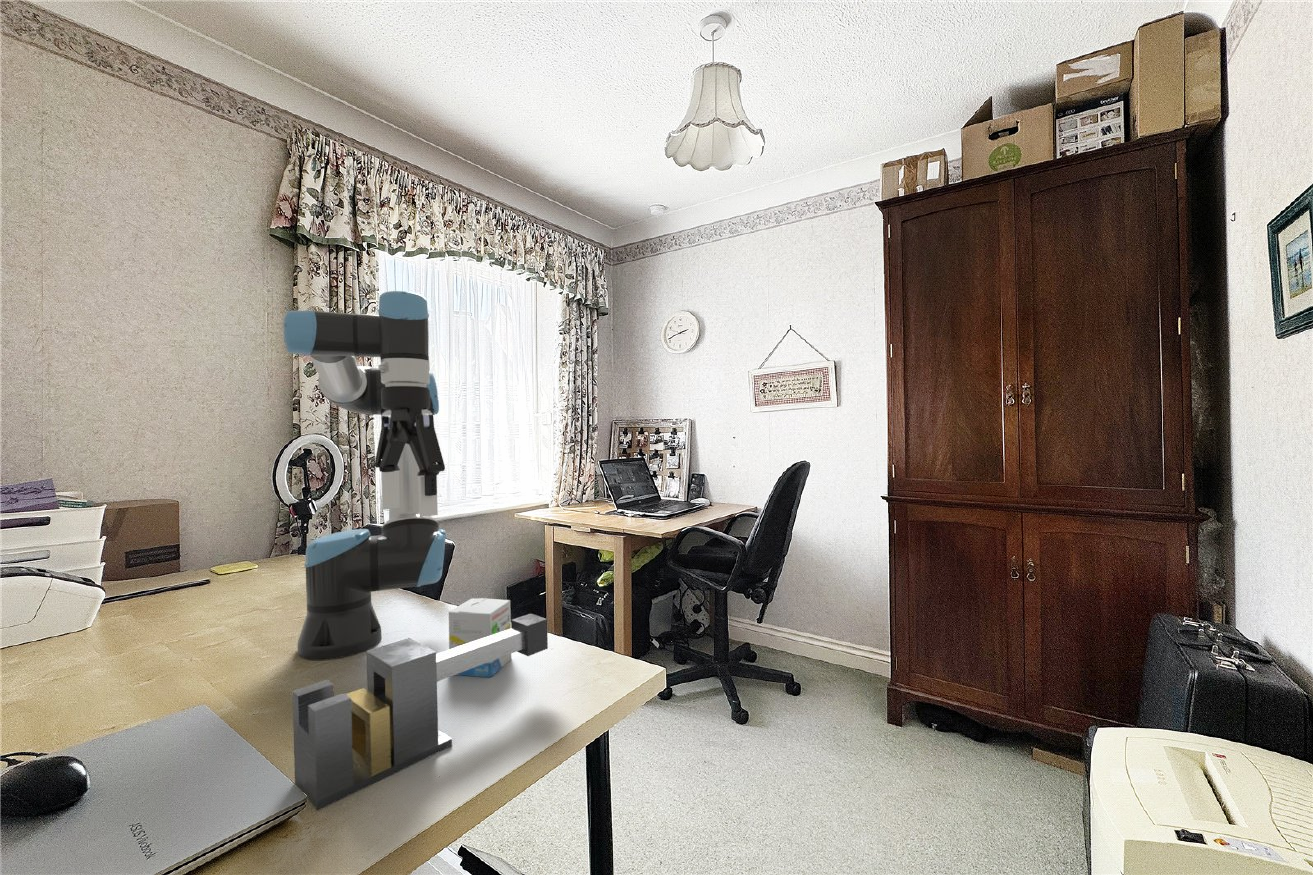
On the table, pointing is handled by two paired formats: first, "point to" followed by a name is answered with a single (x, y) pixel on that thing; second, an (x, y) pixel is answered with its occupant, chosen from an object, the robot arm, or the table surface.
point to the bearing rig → (326, 723)
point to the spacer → (370, 732)
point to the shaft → (495, 646)
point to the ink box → (479, 628)
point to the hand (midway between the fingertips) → (408, 512)
